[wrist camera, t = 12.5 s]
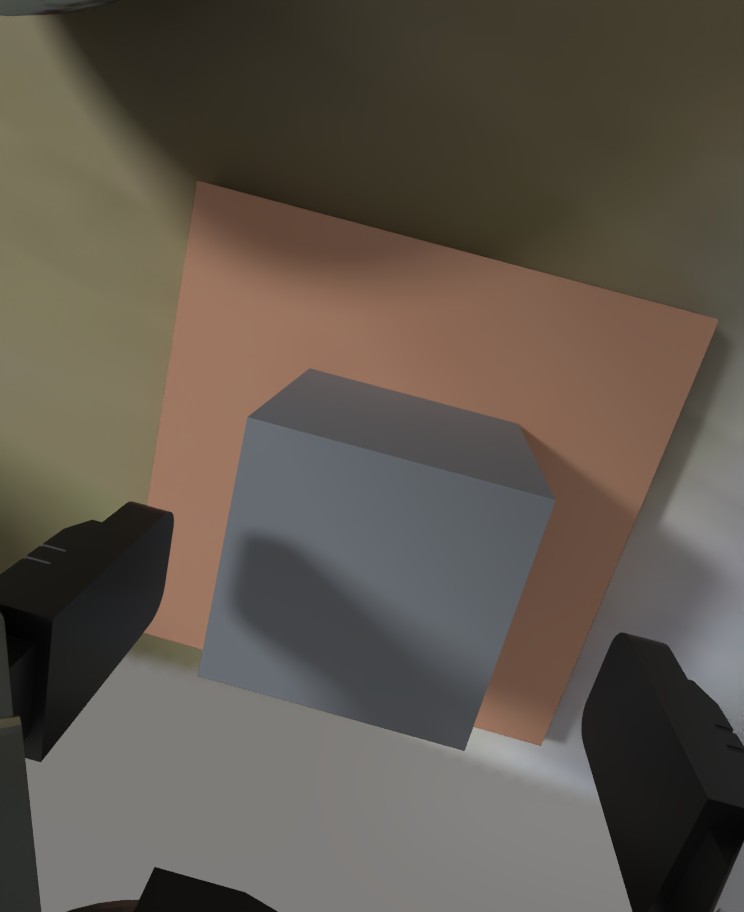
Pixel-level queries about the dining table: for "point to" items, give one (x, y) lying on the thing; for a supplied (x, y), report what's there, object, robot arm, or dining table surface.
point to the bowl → (47, 6)
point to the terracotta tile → (426, 376)
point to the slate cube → (374, 555)
